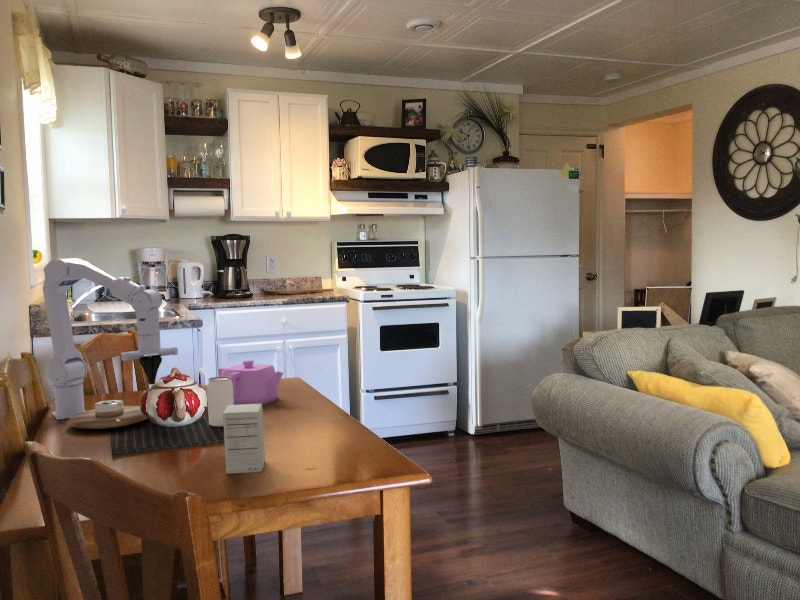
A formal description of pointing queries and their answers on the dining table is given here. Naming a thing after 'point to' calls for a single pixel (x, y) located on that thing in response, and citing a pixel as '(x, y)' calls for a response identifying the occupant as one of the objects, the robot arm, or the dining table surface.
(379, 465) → the dining table surface
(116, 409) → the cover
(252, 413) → the supplement box
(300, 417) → the dining table surface
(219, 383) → the can
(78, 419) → the turntable
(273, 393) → the teakettle
